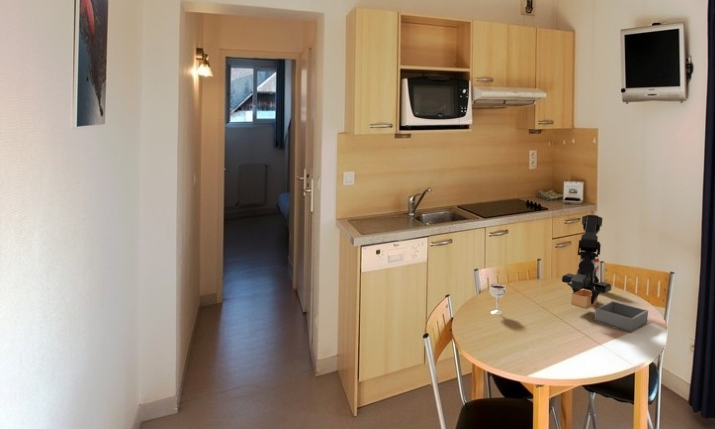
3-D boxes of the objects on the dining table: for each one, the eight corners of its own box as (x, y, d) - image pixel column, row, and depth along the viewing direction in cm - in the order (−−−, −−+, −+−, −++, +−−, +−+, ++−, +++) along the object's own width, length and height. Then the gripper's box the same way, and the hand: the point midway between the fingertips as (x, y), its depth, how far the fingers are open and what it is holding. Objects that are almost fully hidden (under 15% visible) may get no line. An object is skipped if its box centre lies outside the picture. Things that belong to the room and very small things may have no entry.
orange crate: (571, 304, 195) (572, 293, 194) (582, 299, 200) (583, 288, 199) (586, 308, 189) (587, 297, 189) (596, 303, 195) (597, 292, 194)
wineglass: (487, 313, 196) (488, 287, 193) (490, 308, 202) (491, 282, 199) (503, 316, 193) (504, 289, 190) (506, 310, 198) (507, 284, 196)
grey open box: (594, 321, 186) (595, 308, 185) (611, 312, 194) (612, 300, 193) (630, 333, 175) (632, 319, 174) (646, 323, 183) (648, 310, 182)
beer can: (599, 290, 220) (601, 259, 217) (585, 290, 221) (587, 258, 218) (595, 286, 226) (597, 255, 223) (581, 285, 227) (584, 255, 224)
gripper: (555, 265, 194) (553, 299, 197) (599, 276, 179) (596, 313, 182) (569, 260, 201) (567, 294, 204) (613, 270, 186) (610, 306, 189)
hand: (584, 301), depth 194 cm, fingers closed on orange crate, 6 cm apart
